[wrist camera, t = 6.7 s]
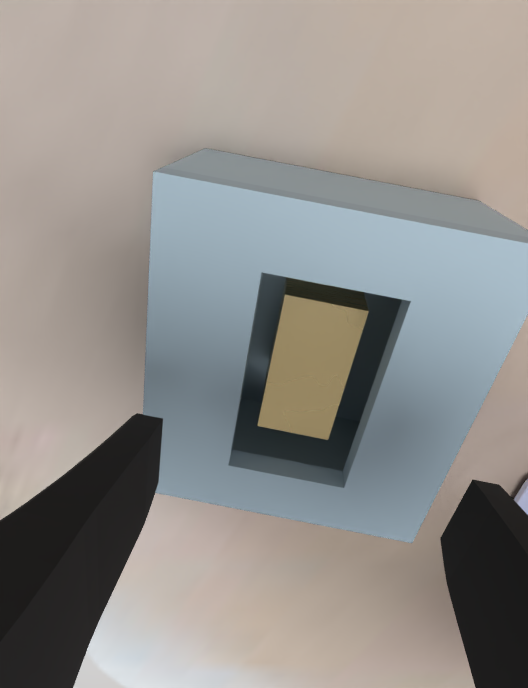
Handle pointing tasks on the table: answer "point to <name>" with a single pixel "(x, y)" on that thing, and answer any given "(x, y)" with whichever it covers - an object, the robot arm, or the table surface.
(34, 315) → the table surface
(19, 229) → the table surface
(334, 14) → the table surface
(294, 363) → the tan rectangular block
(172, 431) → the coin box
